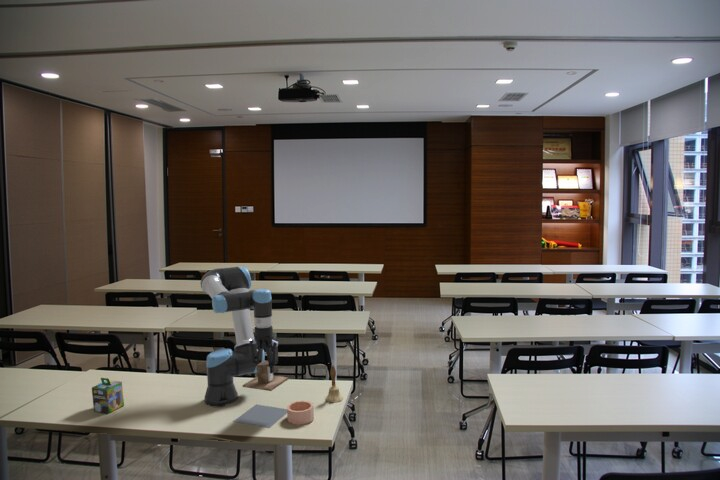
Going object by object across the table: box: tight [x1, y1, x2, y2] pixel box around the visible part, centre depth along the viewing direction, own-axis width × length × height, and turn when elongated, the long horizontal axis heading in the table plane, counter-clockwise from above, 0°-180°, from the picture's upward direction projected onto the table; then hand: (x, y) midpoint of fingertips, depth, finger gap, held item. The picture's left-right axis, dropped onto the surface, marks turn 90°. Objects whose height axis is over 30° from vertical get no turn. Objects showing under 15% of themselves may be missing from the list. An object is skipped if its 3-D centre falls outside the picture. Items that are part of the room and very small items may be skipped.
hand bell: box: [324, 365, 344, 404], centre depth 231 cm, size 8×8×16 cm
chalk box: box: [91, 377, 125, 414], centre depth 226 cm, size 9×9×15 cm
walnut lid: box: [242, 359, 290, 392], centre depth 212 cm, size 14×14×9 cm
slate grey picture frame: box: [232, 404, 287, 429], centre depth 215 cm, size 18×18×1 cm
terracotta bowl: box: [286, 400, 315, 425], centre depth 211 cm, size 11×11×6 cm
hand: (265, 379), depth 212 cm, fingers closed on walnut lid, 4 cm apart
